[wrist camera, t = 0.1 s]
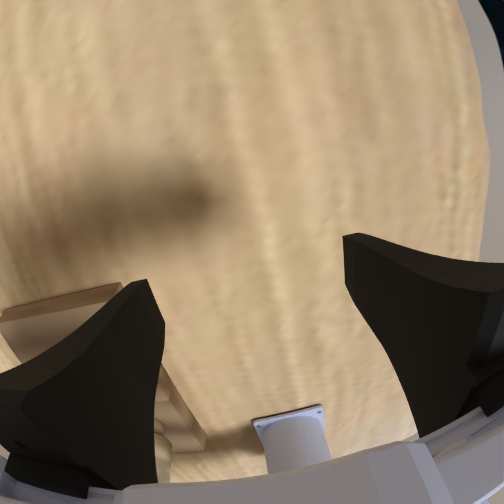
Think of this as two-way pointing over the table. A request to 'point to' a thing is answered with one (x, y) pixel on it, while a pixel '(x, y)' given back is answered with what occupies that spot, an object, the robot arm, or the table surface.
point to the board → (68, 320)
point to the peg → (162, 452)
